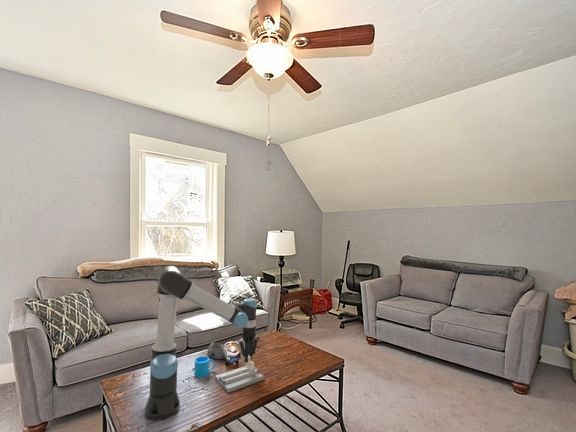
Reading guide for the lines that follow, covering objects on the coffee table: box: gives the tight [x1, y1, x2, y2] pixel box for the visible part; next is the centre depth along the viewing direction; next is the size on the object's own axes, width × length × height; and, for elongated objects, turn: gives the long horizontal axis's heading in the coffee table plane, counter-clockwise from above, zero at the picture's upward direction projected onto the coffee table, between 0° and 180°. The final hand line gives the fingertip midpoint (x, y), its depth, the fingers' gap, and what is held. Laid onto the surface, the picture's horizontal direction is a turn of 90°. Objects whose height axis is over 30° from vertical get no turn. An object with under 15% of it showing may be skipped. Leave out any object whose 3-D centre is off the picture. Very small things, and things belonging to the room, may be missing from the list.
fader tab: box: [248, 360, 255, 372], centre depth 168 cm, size 2×3×5 cm
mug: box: [193, 355, 216, 378], centre depth 170 cm, size 12×8×8 cm
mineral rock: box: [206, 342, 226, 360], centre depth 188 cm, size 13×11×10 cm
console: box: [214, 365, 264, 393], centre depth 163 cm, size 22×16×4 cm
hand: (248, 367), depth 167 cm, fingers closed
